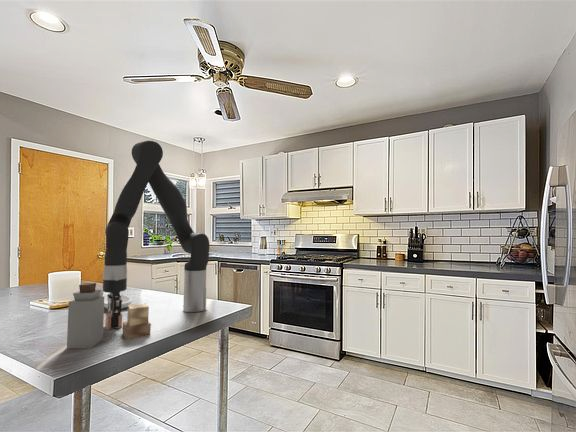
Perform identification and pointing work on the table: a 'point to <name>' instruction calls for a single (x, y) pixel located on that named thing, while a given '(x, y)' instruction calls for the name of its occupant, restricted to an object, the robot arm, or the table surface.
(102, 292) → the spoon rest
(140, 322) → the tower cube
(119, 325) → the block
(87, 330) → the perfume bottle
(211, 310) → the table surface
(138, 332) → the tower base
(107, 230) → the robot arm
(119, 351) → the table surface
